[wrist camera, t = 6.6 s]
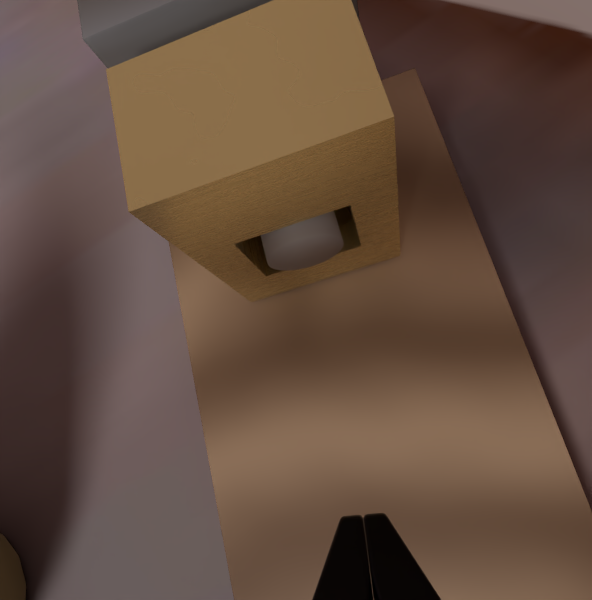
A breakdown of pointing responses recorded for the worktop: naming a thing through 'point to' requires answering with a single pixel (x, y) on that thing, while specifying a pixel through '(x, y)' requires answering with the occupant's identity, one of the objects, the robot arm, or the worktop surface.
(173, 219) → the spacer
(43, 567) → the worktop surface
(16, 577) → the squeeze bottle
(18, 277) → the worktop surface
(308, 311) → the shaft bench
